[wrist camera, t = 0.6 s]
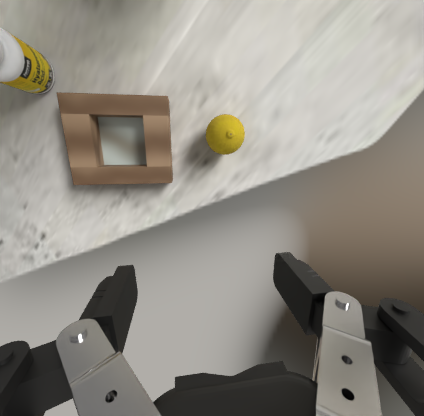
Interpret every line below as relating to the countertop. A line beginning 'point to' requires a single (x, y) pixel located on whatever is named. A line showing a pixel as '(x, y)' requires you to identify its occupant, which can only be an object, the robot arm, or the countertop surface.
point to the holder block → (117, 138)
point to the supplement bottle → (23, 66)
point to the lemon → (225, 134)
